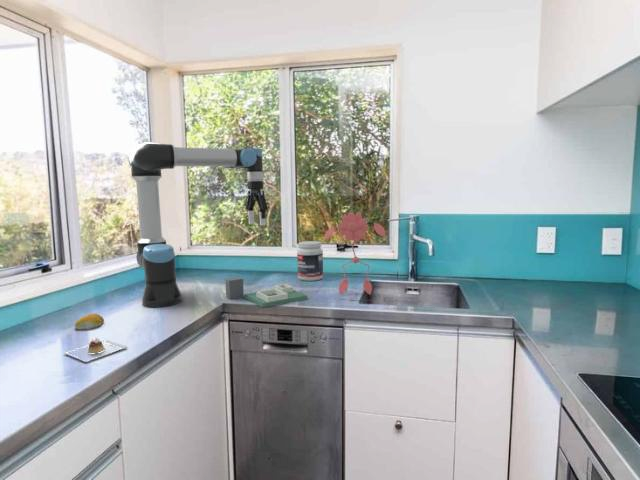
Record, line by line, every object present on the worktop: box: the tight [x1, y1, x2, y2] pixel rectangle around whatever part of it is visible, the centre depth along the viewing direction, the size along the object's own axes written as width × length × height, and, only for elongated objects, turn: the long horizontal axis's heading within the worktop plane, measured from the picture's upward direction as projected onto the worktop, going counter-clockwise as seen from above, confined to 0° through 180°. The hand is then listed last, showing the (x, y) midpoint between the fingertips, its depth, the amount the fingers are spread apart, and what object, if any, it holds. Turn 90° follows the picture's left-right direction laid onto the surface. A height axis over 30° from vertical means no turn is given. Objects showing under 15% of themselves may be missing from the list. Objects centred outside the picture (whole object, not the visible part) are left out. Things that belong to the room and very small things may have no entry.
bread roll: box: [74, 313, 105, 331], centre depth 140 cm, size 8×9×4 cm
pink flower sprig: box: [324, 211, 386, 302], centre depth 168 cm, size 15×26×35 cm, turn 75°
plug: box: [224, 276, 245, 301], centre depth 173 cm, size 7×4×8 cm
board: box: [243, 283, 308, 308], centre depth 170 cm, size 20×18×4 cm
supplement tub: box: [296, 240, 324, 282], centre depth 205 cm, size 13×13×18 cm
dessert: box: [63, 337, 128, 363], centre depth 117 cm, size 12×12×5 cm
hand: (257, 224), depth 202 cm, fingers open, 13 cm apart
